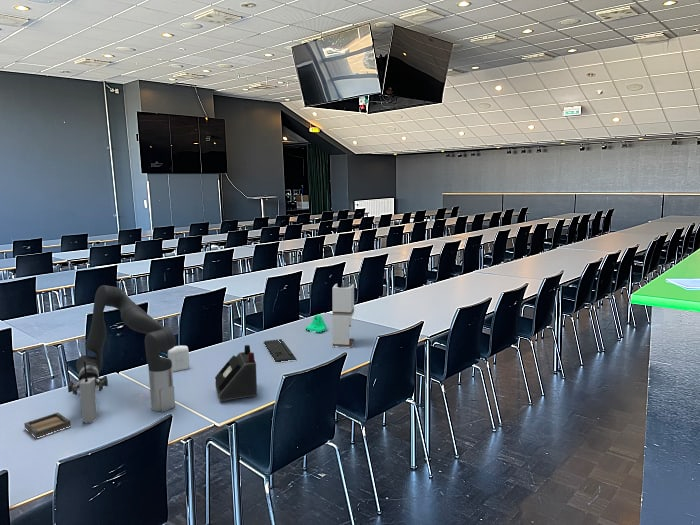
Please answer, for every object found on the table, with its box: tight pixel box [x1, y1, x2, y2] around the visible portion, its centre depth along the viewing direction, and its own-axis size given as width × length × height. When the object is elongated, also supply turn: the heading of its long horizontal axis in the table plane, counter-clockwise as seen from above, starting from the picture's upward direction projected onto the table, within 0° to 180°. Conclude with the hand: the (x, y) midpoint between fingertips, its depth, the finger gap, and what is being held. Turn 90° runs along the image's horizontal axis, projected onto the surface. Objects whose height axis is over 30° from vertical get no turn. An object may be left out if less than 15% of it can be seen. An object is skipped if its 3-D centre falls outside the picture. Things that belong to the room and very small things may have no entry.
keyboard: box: [263, 338, 297, 363], centre depth 282 cm, size 35×11×2 cm, turn 20°
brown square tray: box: [24, 412, 72, 439], centre depth 194 cm, size 12×12×2 cm
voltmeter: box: [214, 344, 258, 403], centre depth 225 cm, size 16×16×20 cm
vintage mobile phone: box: [79, 361, 99, 423], centre depth 199 cm, size 4×5×25 cm
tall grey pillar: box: [331, 283, 355, 348], centre depth 291 cm, size 11×11×35 cm
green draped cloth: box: [304, 314, 328, 333], centre depth 319 cm, size 12×8×10 cm, turn 58°
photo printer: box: [167, 345, 190, 373], centre depth 254 cm, size 10×4×12 cm, turn 124°
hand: (87, 390), depth 198 cm, fingers open, 8 cm apart
